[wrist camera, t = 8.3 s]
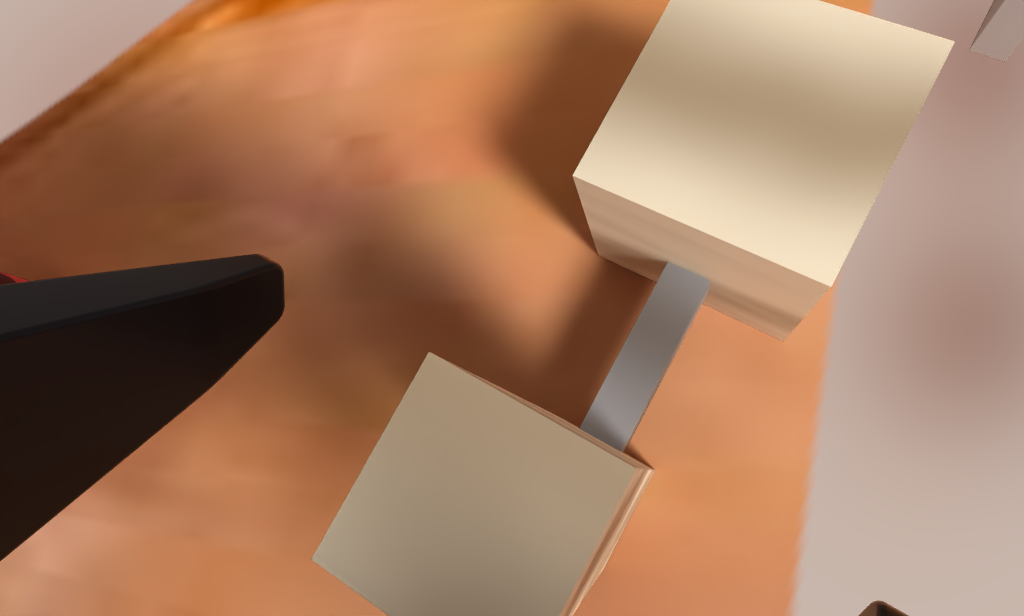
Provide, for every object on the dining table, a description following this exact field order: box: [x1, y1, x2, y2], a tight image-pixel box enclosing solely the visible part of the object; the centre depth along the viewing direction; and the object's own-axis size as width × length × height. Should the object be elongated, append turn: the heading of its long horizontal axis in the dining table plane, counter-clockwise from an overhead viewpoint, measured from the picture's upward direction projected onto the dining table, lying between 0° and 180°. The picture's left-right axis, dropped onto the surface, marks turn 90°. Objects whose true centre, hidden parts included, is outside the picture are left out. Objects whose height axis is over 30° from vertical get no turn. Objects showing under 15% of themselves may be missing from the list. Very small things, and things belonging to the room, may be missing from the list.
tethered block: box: [312, 0, 955, 616], centre depth 14 cm, size 14×6×12 cm, turn 150°
